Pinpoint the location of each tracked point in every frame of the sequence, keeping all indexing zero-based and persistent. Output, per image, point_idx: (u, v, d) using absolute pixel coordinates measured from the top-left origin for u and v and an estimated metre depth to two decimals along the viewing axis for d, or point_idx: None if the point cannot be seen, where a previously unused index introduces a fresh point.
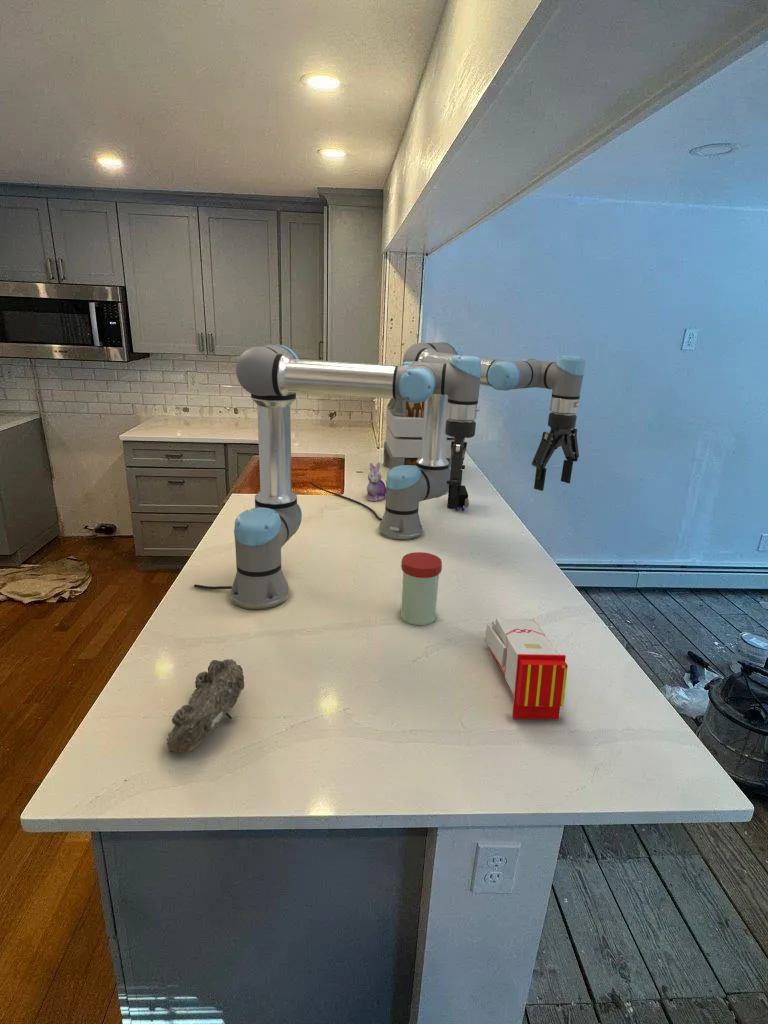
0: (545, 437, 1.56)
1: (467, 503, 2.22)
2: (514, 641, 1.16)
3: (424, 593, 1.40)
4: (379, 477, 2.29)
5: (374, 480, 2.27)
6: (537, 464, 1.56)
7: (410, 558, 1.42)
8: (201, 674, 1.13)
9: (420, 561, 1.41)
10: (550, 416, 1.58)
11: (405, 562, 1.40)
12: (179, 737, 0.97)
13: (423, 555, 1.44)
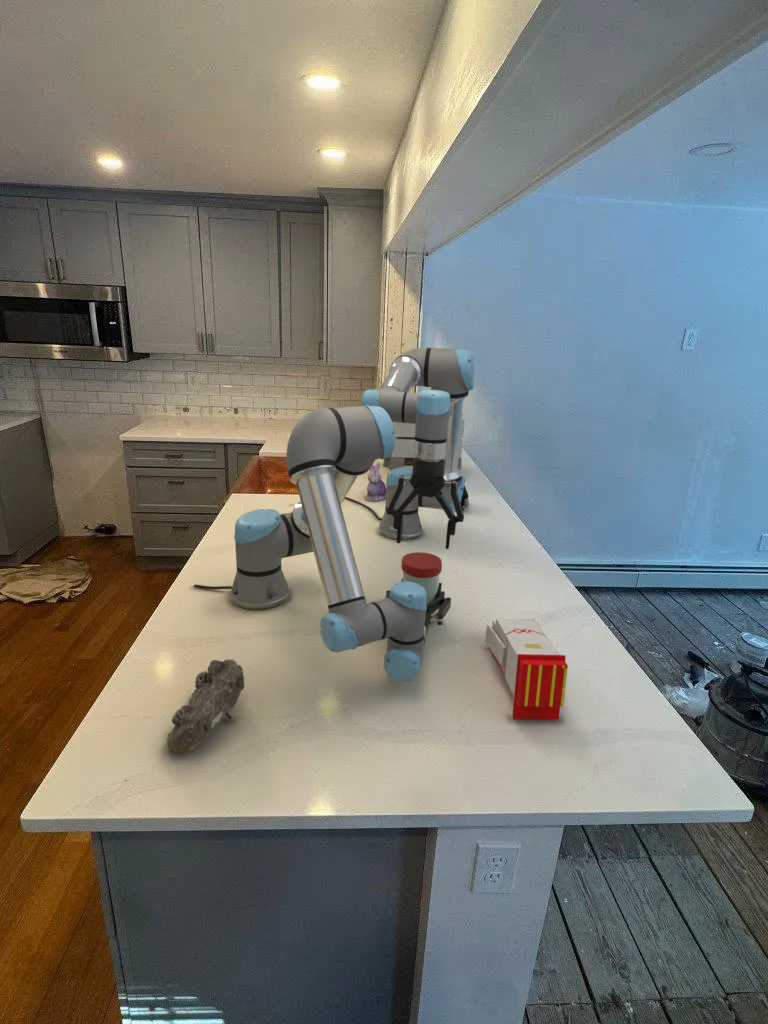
0: None
1: (467, 503, 2.22)
2: (514, 641, 1.16)
3: None
4: (379, 477, 2.29)
5: (374, 480, 2.27)
6: (463, 516, 1.36)
7: (410, 558, 1.42)
8: (201, 674, 1.13)
9: (420, 561, 1.41)
10: (442, 465, 1.31)
11: (405, 562, 1.40)
12: (179, 737, 0.97)
13: (423, 555, 1.44)
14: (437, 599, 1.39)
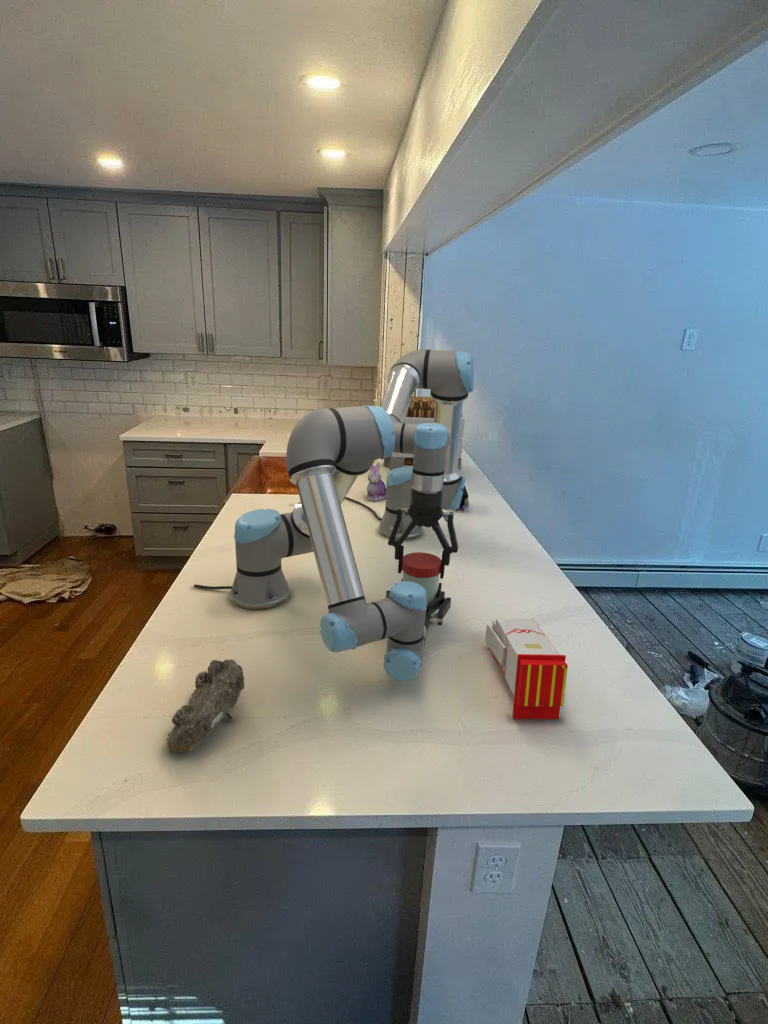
0: None
1: (467, 503, 2.22)
2: (514, 641, 1.16)
3: None
4: (379, 477, 2.29)
5: (374, 480, 2.27)
6: None
7: (410, 558, 1.42)
8: (201, 674, 1.13)
9: (420, 561, 1.41)
10: (439, 496, 1.33)
11: (405, 562, 1.40)
12: (179, 737, 0.97)
13: (423, 555, 1.44)
14: (437, 599, 1.39)
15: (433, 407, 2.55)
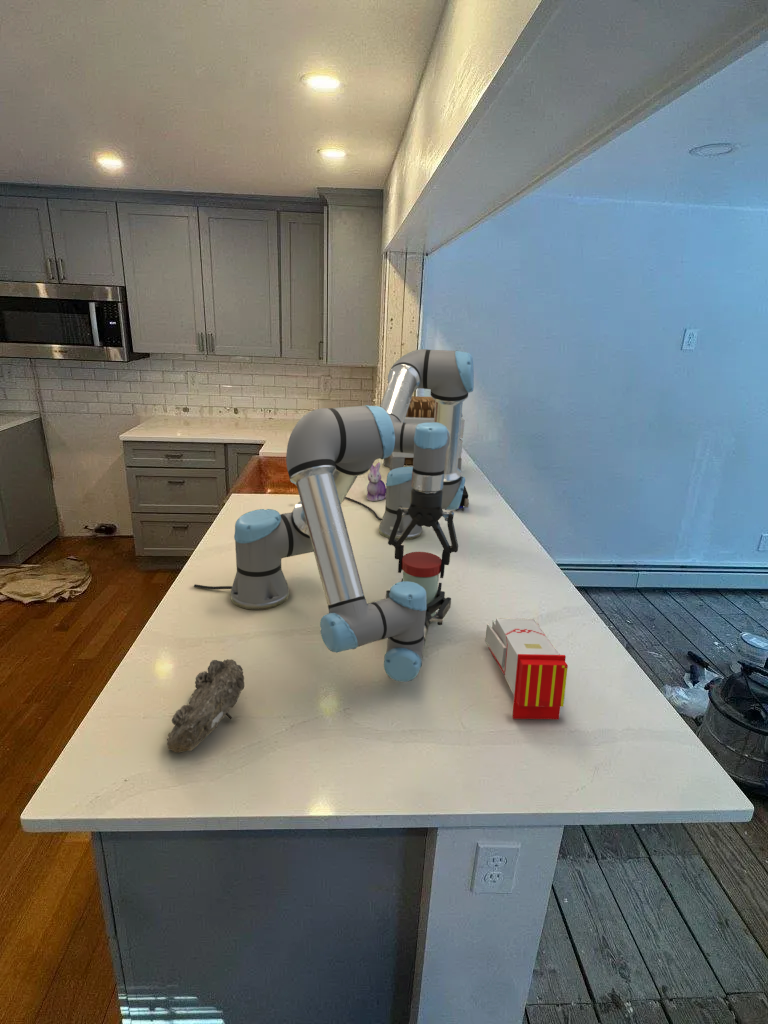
0: None
1: (467, 503, 2.22)
2: (514, 641, 1.16)
3: None
4: (379, 477, 2.29)
5: (374, 480, 2.27)
6: None
7: (426, 564, 1.39)
8: (201, 674, 1.13)
9: (425, 559, 1.42)
10: (439, 496, 1.33)
11: (438, 564, 1.39)
12: (179, 737, 0.97)
13: (411, 561, 1.40)
14: (437, 599, 1.39)
15: (433, 407, 2.55)
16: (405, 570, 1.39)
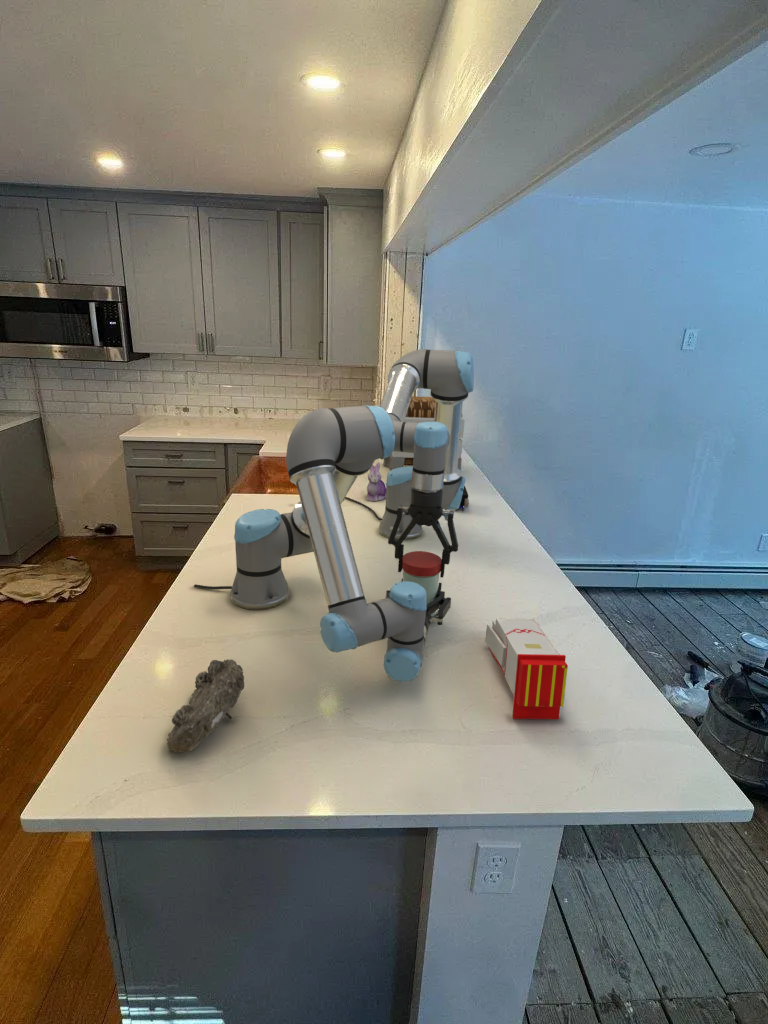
0: None
1: (467, 503, 2.22)
2: (514, 641, 1.16)
3: None
4: (379, 477, 2.29)
5: (374, 480, 2.27)
6: None
7: (428, 555, 1.44)
8: (201, 674, 1.13)
9: (419, 558, 1.42)
10: (439, 495, 1.33)
11: (419, 551, 1.46)
12: (179, 737, 0.97)
13: (433, 562, 1.40)
14: (437, 599, 1.39)
15: (433, 407, 2.55)
16: (440, 569, 1.40)
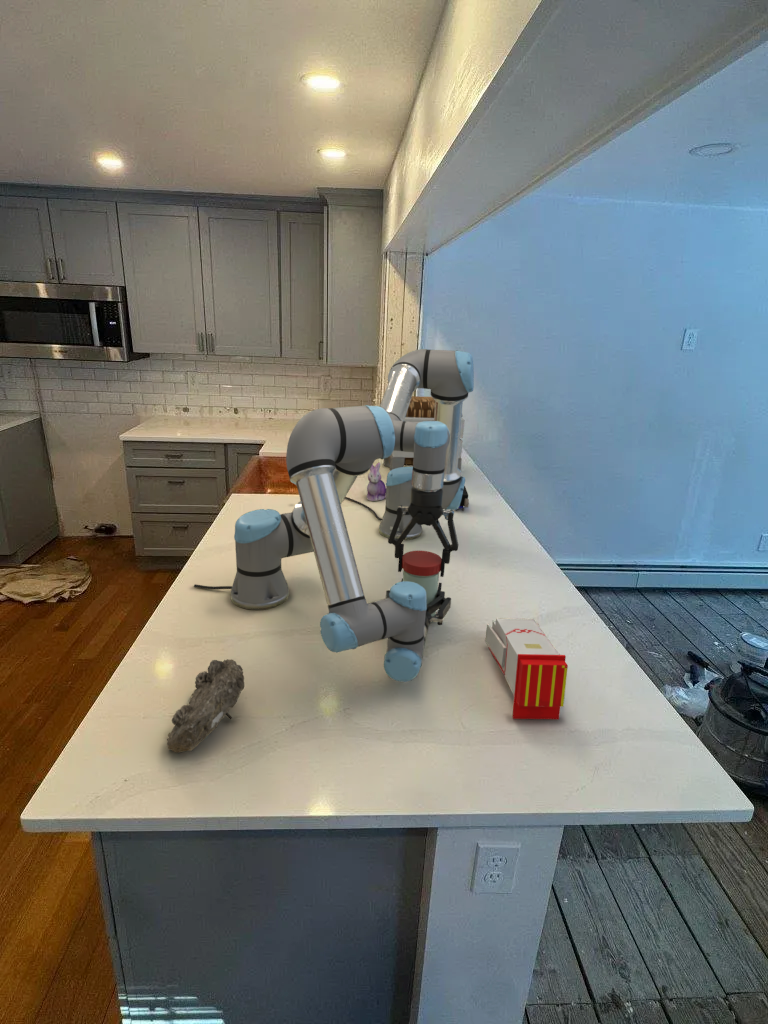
0: None
1: (467, 503, 2.22)
2: (514, 641, 1.16)
3: None
4: (379, 477, 2.29)
5: (374, 480, 2.27)
6: None
7: (410, 558, 1.41)
8: (201, 674, 1.13)
9: (421, 559, 1.41)
10: (439, 494, 1.33)
11: (408, 562, 1.39)
12: (179, 737, 0.97)
13: (419, 553, 1.44)
14: (437, 599, 1.39)
15: (433, 407, 2.55)
16: None
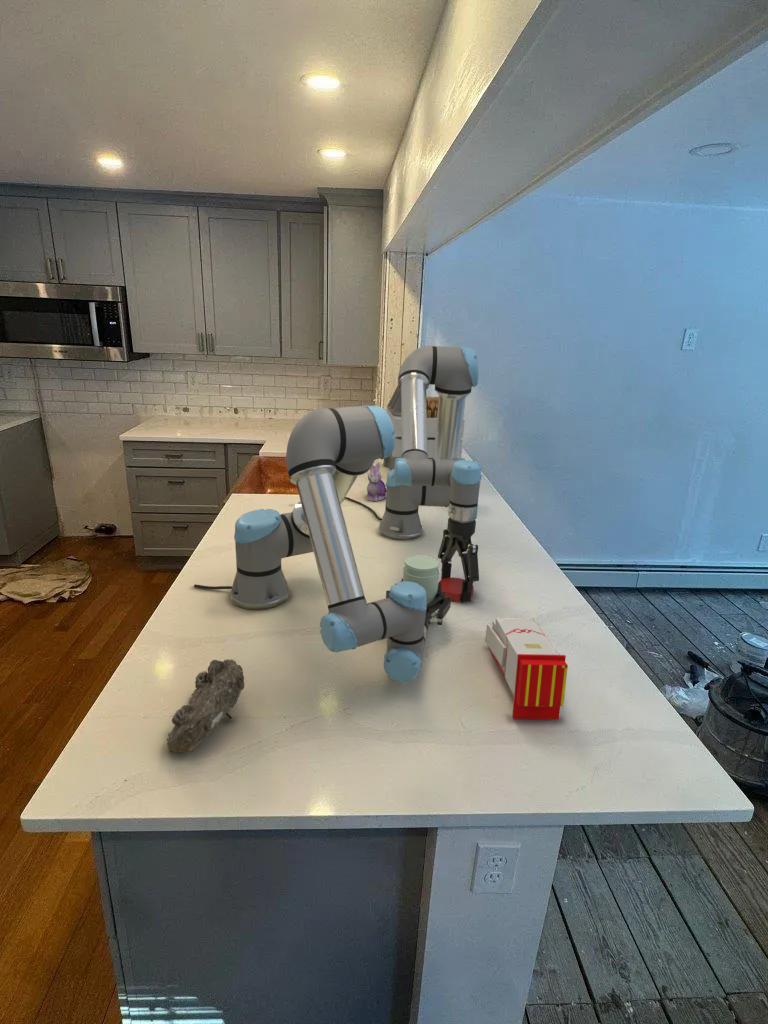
0: None
1: None
2: (514, 641, 1.16)
3: None
4: (379, 477, 2.29)
5: (374, 480, 2.27)
6: None
7: None
8: (201, 674, 1.13)
9: (458, 584, 1.59)
10: None
11: None
12: (179, 737, 0.97)
13: (448, 588, 1.57)
14: (437, 599, 1.39)
15: (433, 407, 2.55)
16: (445, 597, 1.56)
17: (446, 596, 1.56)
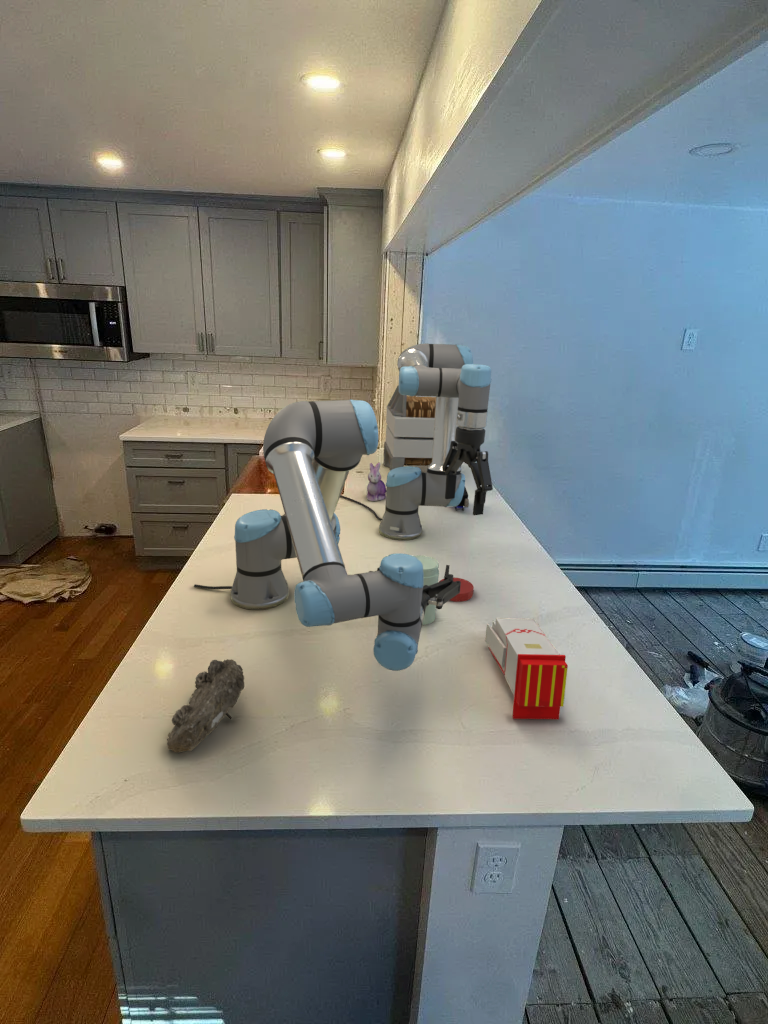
0: None
1: (467, 503, 2.22)
2: (514, 641, 1.16)
3: None
4: (379, 477, 2.29)
5: (374, 480, 2.27)
6: None
7: (463, 589, 1.57)
8: (201, 674, 1.13)
9: None
10: None
11: (471, 587, 1.58)
12: (179, 737, 0.97)
13: None
14: (443, 582, 1.22)
15: (433, 407, 2.55)
16: None
17: None
